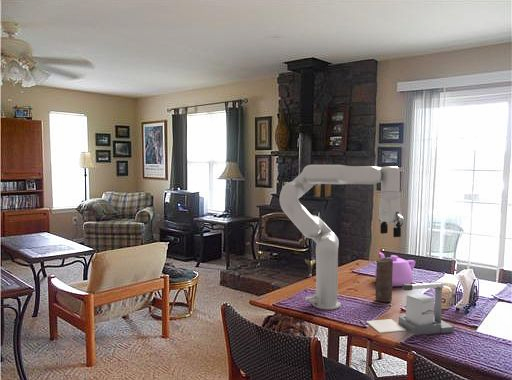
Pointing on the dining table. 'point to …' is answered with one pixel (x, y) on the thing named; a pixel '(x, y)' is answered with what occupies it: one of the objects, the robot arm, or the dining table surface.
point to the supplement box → (419, 309)
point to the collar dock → (438, 324)
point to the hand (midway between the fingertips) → (390, 235)
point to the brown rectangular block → (384, 279)
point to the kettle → (401, 270)
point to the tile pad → (385, 326)
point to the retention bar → (422, 286)
